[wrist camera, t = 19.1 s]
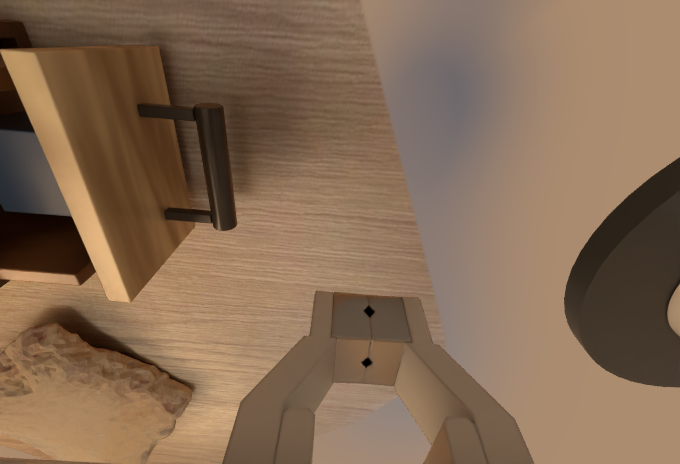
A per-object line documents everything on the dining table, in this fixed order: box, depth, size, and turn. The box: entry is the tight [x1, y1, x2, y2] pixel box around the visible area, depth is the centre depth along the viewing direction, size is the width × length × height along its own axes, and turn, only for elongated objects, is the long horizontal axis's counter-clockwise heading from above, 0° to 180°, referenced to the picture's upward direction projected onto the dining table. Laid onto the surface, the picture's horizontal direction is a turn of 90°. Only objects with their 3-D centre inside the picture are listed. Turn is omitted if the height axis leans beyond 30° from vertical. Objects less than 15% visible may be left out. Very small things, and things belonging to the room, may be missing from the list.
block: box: [0, 111, 72, 217], centre depth 17 cm, size 4×4×4 cm
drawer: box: [0, 45, 237, 302], centre depth 17 cm, size 18×11×8 cm, turn 86°
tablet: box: [0, 323, 192, 464], centre depth 34 cm, size 24×8×20 cm
